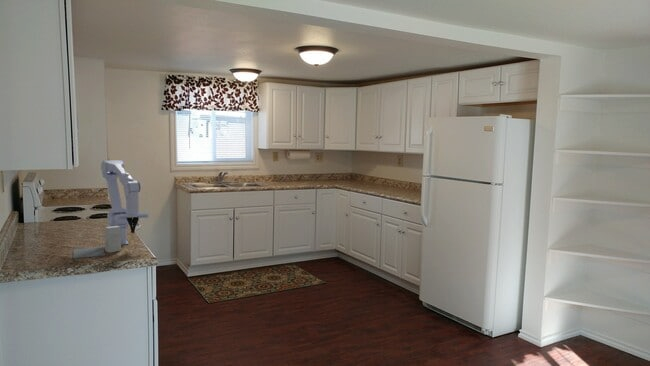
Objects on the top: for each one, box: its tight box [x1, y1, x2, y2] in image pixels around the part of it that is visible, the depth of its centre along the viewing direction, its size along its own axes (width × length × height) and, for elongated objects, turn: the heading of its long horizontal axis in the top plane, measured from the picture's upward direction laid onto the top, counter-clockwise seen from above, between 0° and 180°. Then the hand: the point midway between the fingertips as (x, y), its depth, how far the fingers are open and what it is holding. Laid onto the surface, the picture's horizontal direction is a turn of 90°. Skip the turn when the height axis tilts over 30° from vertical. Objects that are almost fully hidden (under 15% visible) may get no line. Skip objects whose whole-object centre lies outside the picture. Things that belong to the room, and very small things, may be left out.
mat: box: [72, 246, 106, 260], centre depth 221 cm, size 18×13×1 cm
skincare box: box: [104, 226, 122, 253], centre depth 225 cm, size 6×4×12 cm
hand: (132, 232), depth 229 cm, fingers closed
